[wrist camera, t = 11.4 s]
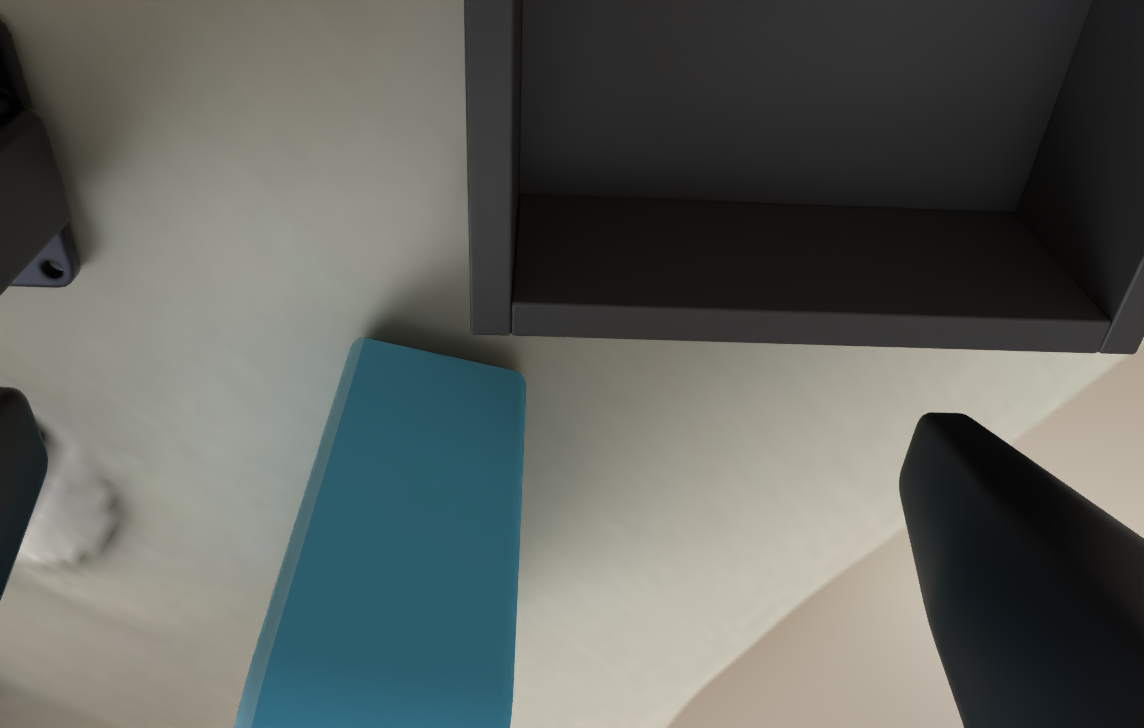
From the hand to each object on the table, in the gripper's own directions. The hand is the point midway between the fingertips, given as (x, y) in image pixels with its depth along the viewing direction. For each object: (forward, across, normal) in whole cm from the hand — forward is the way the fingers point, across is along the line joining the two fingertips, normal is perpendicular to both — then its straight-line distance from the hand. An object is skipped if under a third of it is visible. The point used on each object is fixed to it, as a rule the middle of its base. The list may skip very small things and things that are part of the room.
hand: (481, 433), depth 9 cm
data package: (+13, +3, +13) cm, 19 cm away
